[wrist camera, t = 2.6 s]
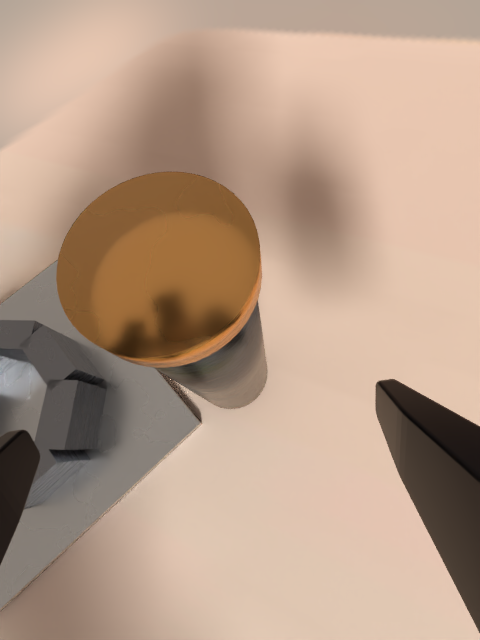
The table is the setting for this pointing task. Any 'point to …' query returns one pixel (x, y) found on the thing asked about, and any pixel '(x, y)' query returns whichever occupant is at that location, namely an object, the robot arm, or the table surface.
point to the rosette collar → (75, 426)
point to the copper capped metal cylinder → (170, 283)
